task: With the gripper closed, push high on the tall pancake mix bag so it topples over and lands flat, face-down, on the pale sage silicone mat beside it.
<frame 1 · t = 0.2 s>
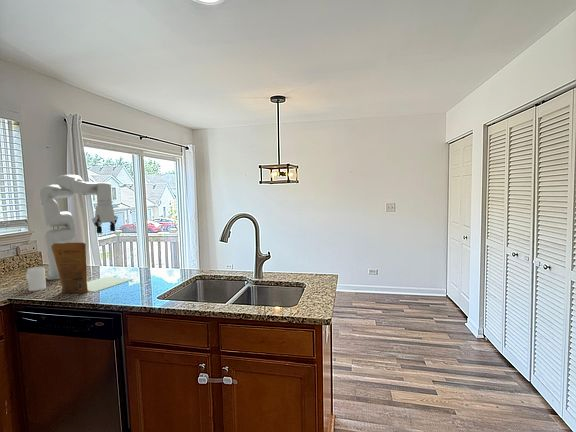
hand: (106, 232, 205), 31 cm above the counter, fingers open, 9 cm apart
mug: (35, 288, 199), on the counter
pancake mix bag: (73, 292, 190), on the counter
silicone mat: (101, 284, 206), on the counter
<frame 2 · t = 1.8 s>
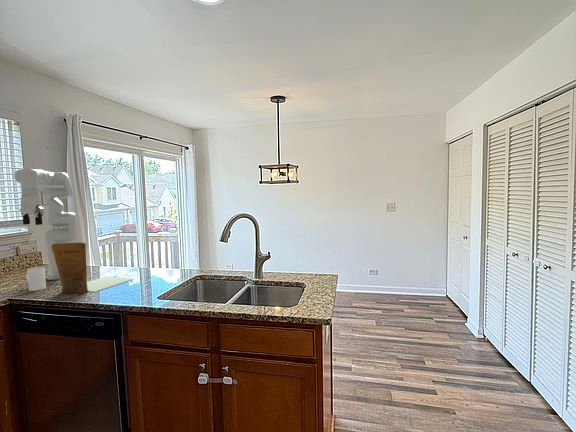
hand: (32, 224, 184), 38 cm above the counter, fingers open, 9 cm apart
nothing on the counter moved.
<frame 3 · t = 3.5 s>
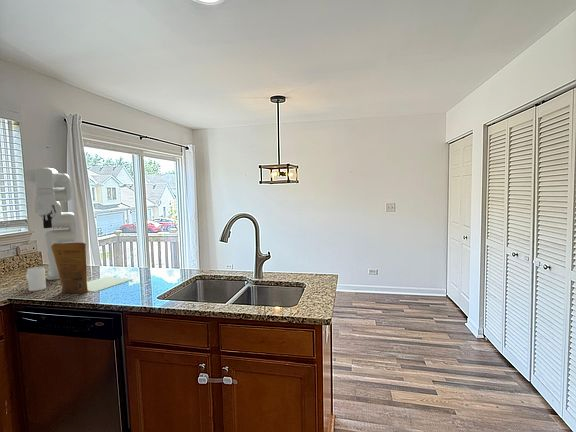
hand: (47, 227, 176), 37 cm above the counter, fingers closed
nothing on the counter moved.
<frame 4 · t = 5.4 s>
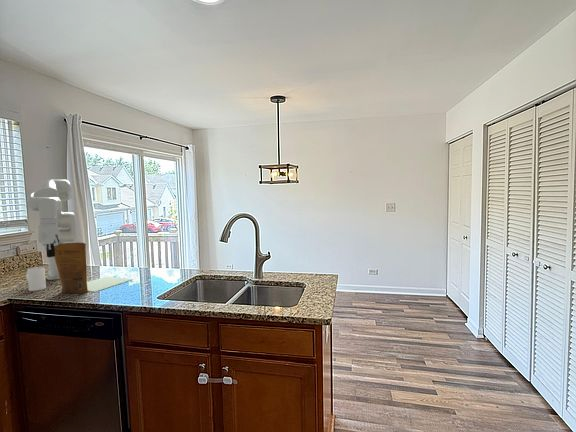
hand: (51, 256, 178), 22 cm above the counter, fingers closed
nothing on the counter moved.
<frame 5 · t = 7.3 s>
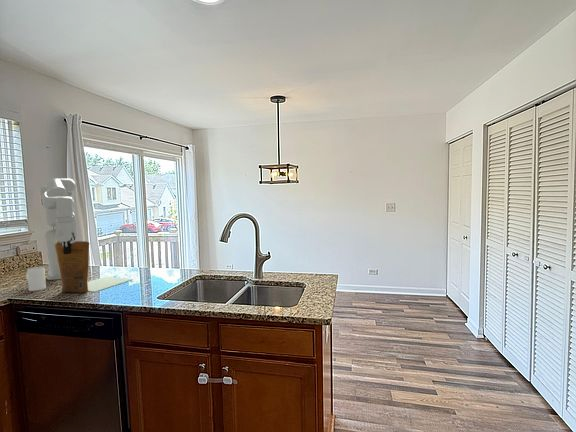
hand: (67, 253, 186), 22 cm above the counter, fingers closed
pancake mix bag: (73, 292, 190), on the counter, touching gripper
everything else where it was.
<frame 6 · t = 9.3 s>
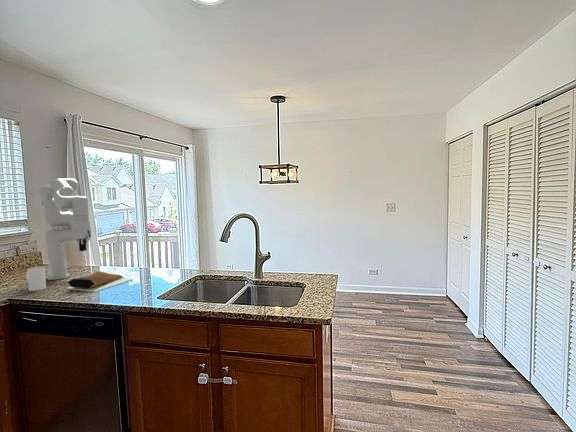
hand: (82, 250, 195), 22 cm above the counter, fingers closed
pancake mix bag: (80, 282, 193), point 5 cm above the counter, touching silicone mat
everything else where it was.
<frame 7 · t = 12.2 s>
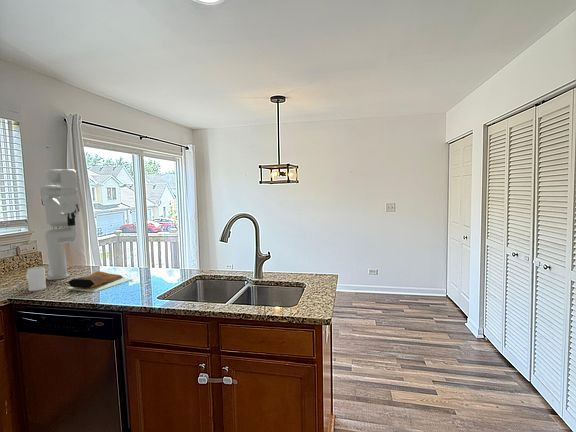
hand: (71, 225, 189), 37 cm above the counter, fingers closed
nothing on the counter moved.
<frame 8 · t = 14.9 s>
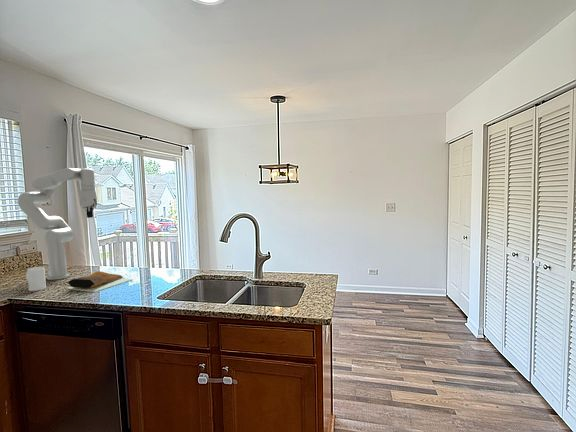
hand: (89, 217, 218), 39 cm above the counter, fingers closed
nothing on the counter moved.
at the end: pancake mix bag tilted 98°; pancake mix bag inside the target area (9.3 cm from its centre), point 4.6 cm above the counter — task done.
